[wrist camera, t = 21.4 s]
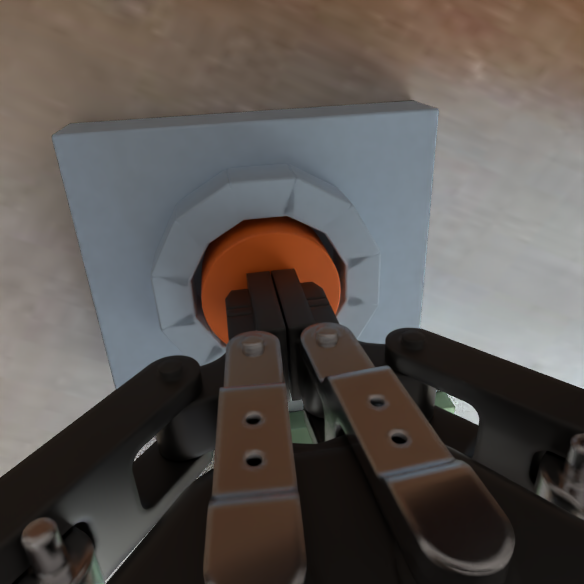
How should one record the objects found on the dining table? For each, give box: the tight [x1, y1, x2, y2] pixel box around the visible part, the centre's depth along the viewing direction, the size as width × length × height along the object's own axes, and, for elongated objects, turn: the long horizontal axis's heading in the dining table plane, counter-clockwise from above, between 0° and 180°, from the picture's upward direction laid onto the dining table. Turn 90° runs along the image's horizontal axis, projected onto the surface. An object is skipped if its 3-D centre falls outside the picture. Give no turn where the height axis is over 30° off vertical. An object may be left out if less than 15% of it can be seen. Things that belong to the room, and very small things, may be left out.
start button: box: [201, 216, 341, 344], centre depth 17 cm, size 4×4×2 cm
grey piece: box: [52, 101, 439, 389], centre depth 18 cm, size 12×10×4 cm
